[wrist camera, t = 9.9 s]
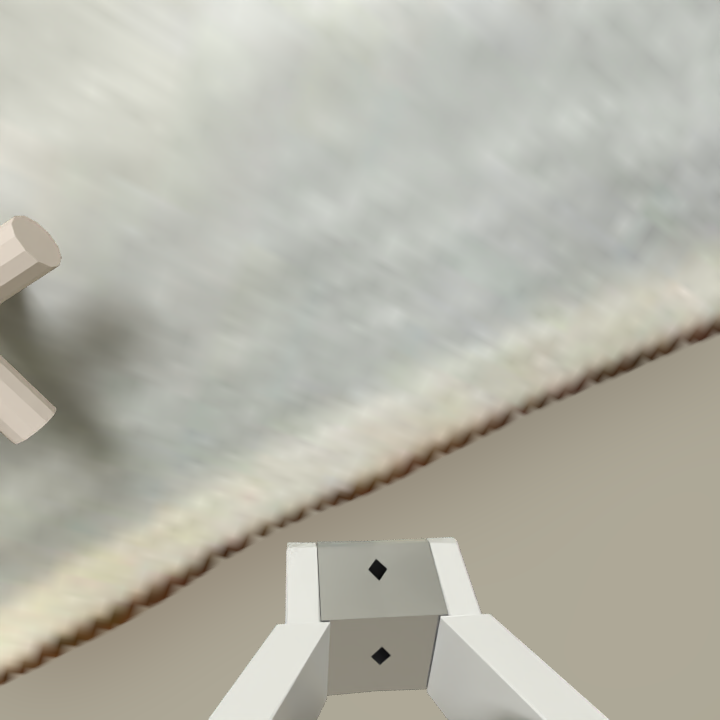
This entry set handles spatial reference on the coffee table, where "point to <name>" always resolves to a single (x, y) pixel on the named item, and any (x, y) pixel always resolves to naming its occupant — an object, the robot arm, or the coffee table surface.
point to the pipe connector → (3, 280)
